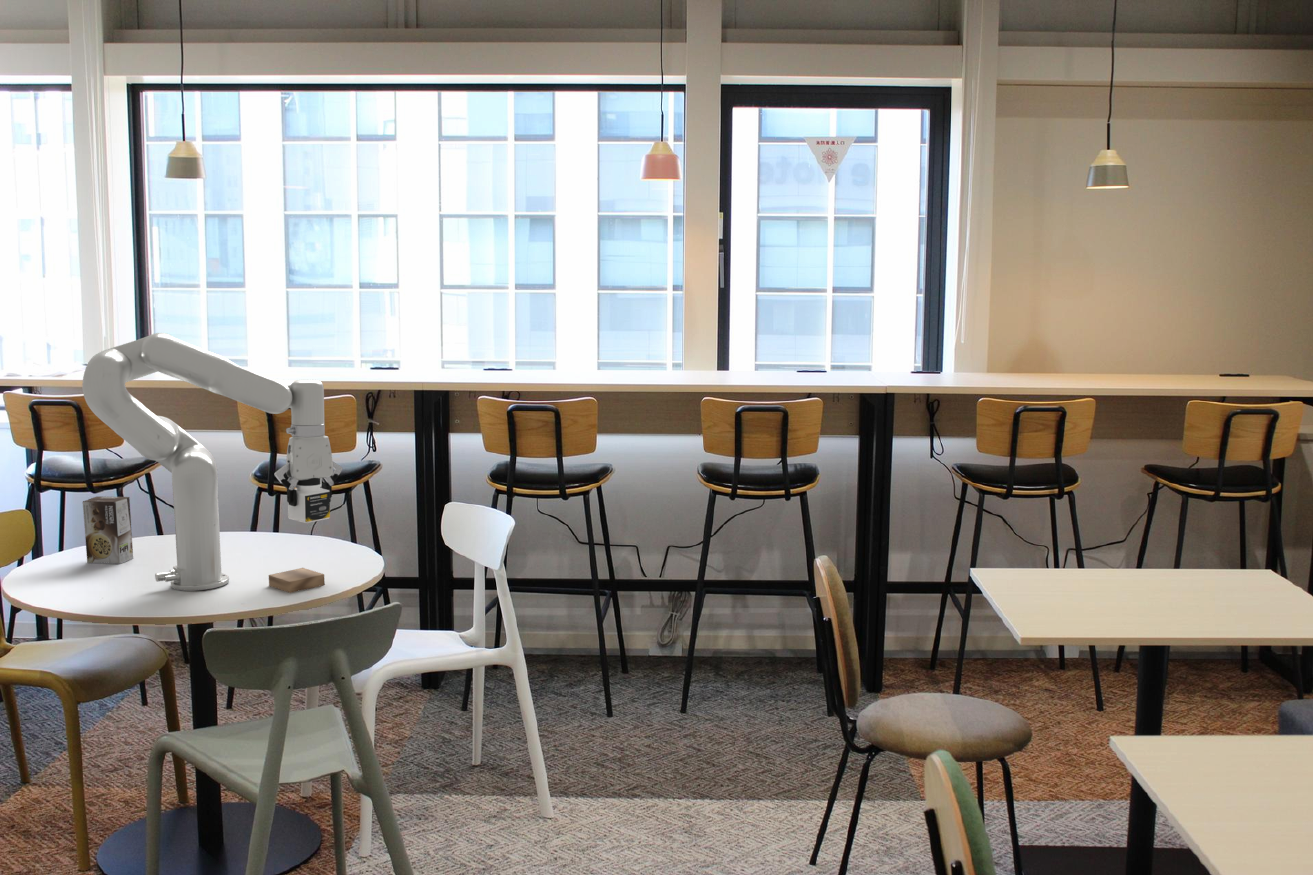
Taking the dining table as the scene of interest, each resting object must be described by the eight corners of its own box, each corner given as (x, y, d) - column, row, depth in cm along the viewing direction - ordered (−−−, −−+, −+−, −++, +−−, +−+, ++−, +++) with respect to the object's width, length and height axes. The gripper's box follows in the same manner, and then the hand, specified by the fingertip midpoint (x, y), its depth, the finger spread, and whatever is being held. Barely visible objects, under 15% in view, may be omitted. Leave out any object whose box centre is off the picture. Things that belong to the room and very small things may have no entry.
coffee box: (134, 558, 277) (131, 496, 275) (119, 564, 271) (116, 501, 269) (101, 557, 278) (97, 495, 276) (85, 563, 272) (81, 500, 270)
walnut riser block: (290, 594, 247) (289, 581, 247) (269, 587, 253) (268, 574, 253) (324, 586, 254) (324, 574, 254) (303, 579, 260) (302, 567, 259)
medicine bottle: (305, 523, 257) (304, 474, 255) (287, 518, 261) (286, 470, 259) (330, 518, 263) (329, 470, 261) (312, 513, 267) (311, 466, 265)
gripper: (279, 435, 250) (281, 510, 252) (349, 430, 262) (350, 501, 264) (266, 432, 256) (268, 505, 258) (335, 427, 267) (336, 497, 270)
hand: (309, 502), depth 261 cm, fingers closed on medicine bottle, 8 cm apart
